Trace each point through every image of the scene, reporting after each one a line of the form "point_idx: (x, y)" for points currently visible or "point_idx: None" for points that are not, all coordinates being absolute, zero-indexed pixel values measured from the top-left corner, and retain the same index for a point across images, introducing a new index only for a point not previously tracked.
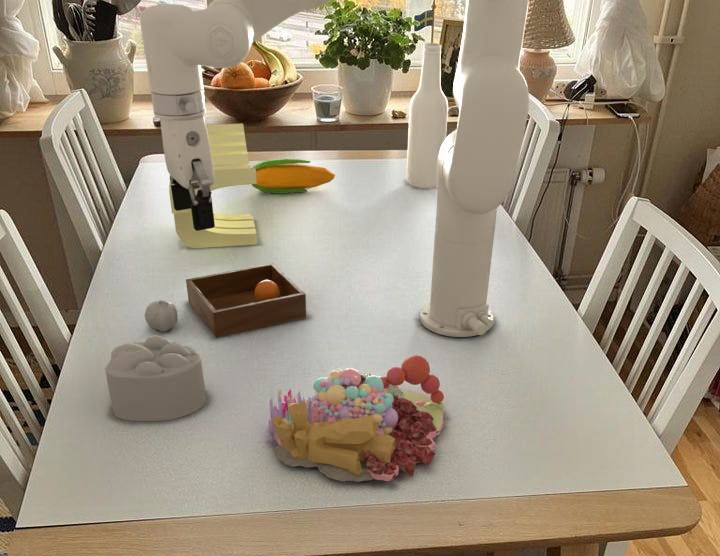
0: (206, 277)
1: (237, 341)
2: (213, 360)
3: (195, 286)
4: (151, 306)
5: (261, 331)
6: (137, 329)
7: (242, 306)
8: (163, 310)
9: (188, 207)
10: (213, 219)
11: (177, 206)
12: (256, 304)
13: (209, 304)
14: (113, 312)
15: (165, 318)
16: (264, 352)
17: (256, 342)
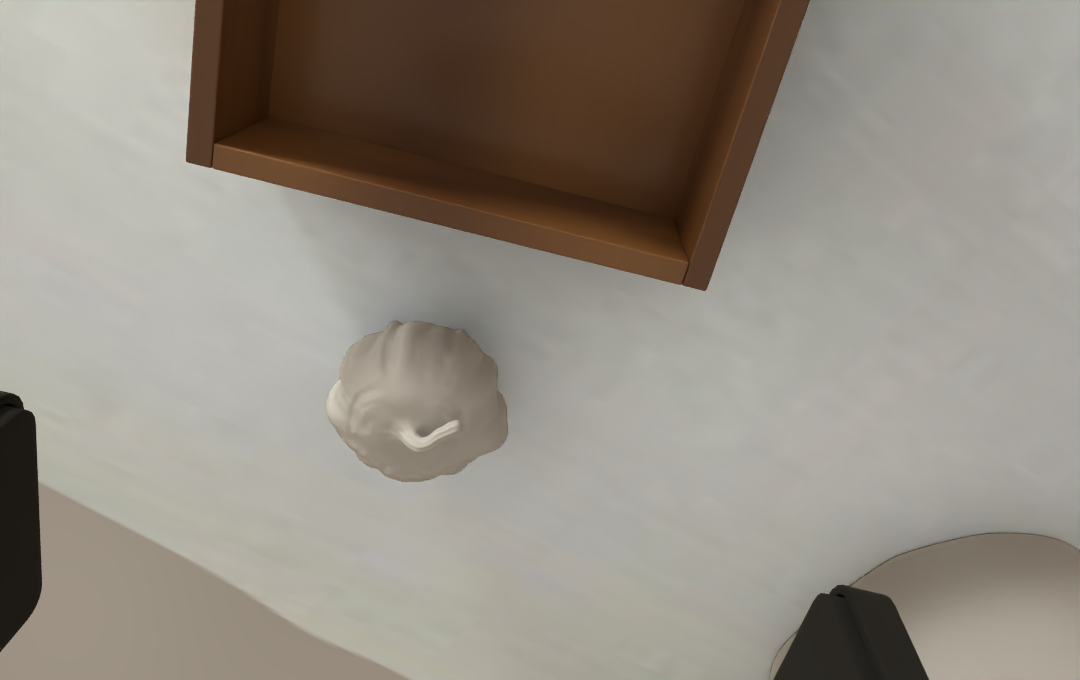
0: (223, 31)
1: (796, 180)
2: (854, 367)
3: (320, 174)
4: (403, 471)
5: None
6: None
7: (767, 107)
8: (469, 442)
9: (31, 478)
10: (920, 674)
11: (10, 624)
12: (805, 7)
13: (597, 248)
14: (159, 450)
15: (502, 434)
16: (996, 141)
17: (882, 108)
